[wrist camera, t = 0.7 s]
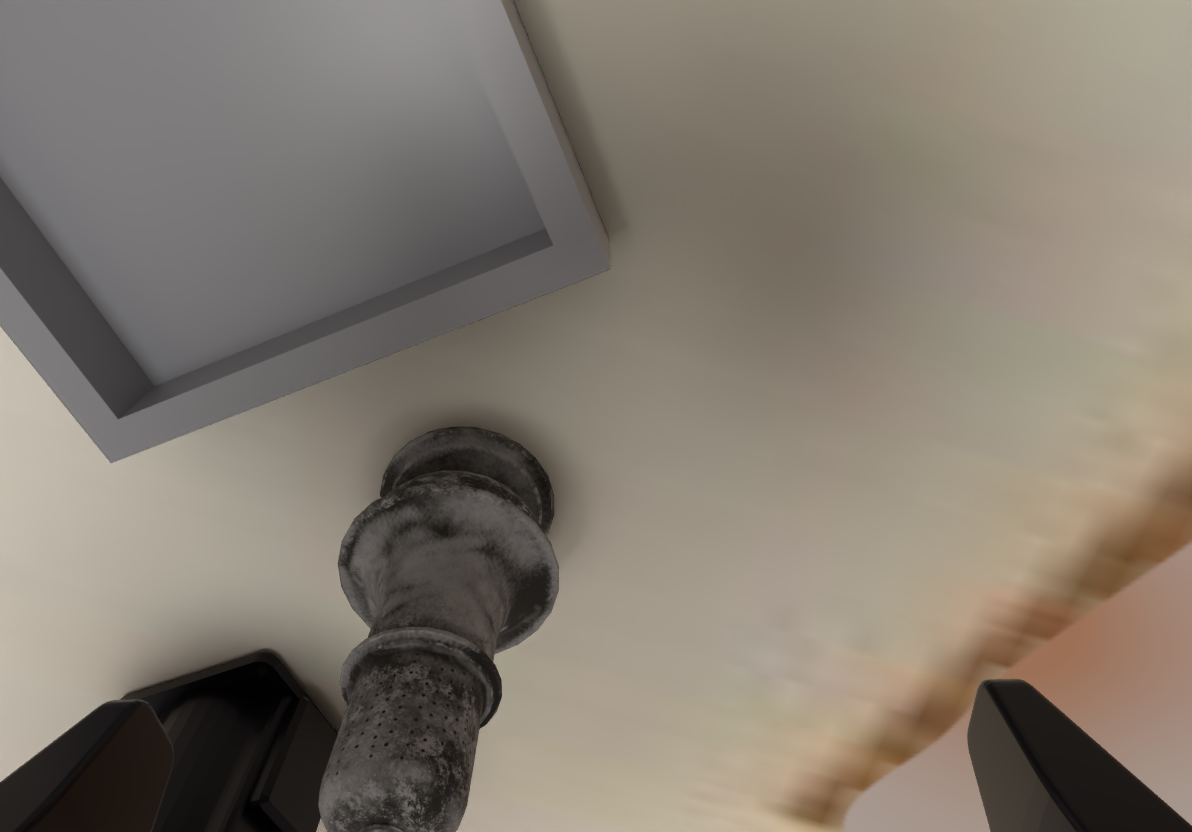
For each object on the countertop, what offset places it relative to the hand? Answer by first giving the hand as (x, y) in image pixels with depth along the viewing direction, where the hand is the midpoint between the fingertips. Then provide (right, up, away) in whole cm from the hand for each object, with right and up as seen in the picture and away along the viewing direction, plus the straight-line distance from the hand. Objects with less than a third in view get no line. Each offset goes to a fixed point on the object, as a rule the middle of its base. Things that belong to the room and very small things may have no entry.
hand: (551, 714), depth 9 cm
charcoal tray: (-8, +11, +10) cm, 17 cm away
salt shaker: (-3, +1, +16) cm, 16 cm away
